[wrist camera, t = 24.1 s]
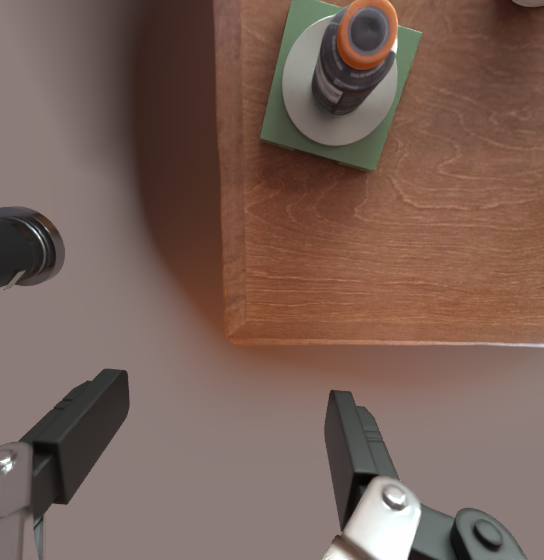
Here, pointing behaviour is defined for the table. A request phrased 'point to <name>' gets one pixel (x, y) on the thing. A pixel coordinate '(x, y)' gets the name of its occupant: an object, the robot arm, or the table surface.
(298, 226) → the table surface
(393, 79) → the scale
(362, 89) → the pill bottle
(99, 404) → the robot arm
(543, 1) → the mug
